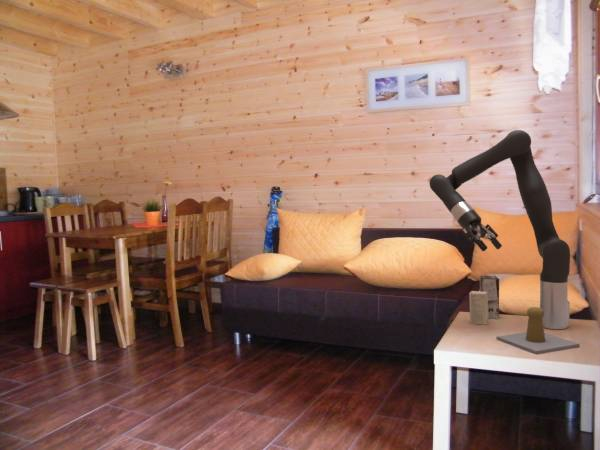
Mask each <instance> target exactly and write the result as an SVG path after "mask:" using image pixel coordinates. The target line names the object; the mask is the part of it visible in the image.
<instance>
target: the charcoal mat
mask: <svg viewBox="0 0 600 450" xmlns="http://www.w3.org/2000/svg"><path fill="white" fill-rule="evenodd" d="M526 334H527V331H523V332H517V333H511V334H503V335H497V336H496V337H495V339H496V340H497V341H500V342H501V343H505V344H508V345H510V346H513V347H516V348H518V349H521V350H524V351H527V352H529V353H531V354H534V355H541V354H546V353H551V352H557V351H563V350H569V349H574V348H580V343H577V342H575V341H572V340H569V339H565V338H562V337H560V336H555V335H553V334H549V333H547V332H544V335H545V342H542V343H535V342H529V341H527V340H526Z"/></svg>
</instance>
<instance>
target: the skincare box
mask: <svg viewBox="0 0 600 450" xmlns="http://www.w3.org/2000/svg"><path fill="white" fill-rule="evenodd" d="M468 295H469V296H468V297H469V324H472V325H473V324H474V325H485V326H486V325H487V324H488V323H489V318H488V292H481V291H480V290H477V291H476V290H471V291H470V292H469V293H468Z"/></svg>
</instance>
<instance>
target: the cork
mask: <svg viewBox="0 0 600 450" xmlns="http://www.w3.org/2000/svg"><path fill="white" fill-rule="evenodd" d="M526 315H527V318H528V321H527V327H526V332H527V334H526V340H527V341H529V342H535V343H542V342H545V335H544V333H545V330H544V327H543V320H542V318H543V316H544V311H543V309H541V308H540V307H536V306H533V307H528V308H527V311H526Z"/></svg>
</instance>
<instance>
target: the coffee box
mask: <svg viewBox="0 0 600 450" xmlns="http://www.w3.org/2000/svg"><path fill="white" fill-rule="evenodd" d="M479 291H481V292H488V319H494V320H497V319H500V279H499V277H498V276H496V275H479Z"/></svg>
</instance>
